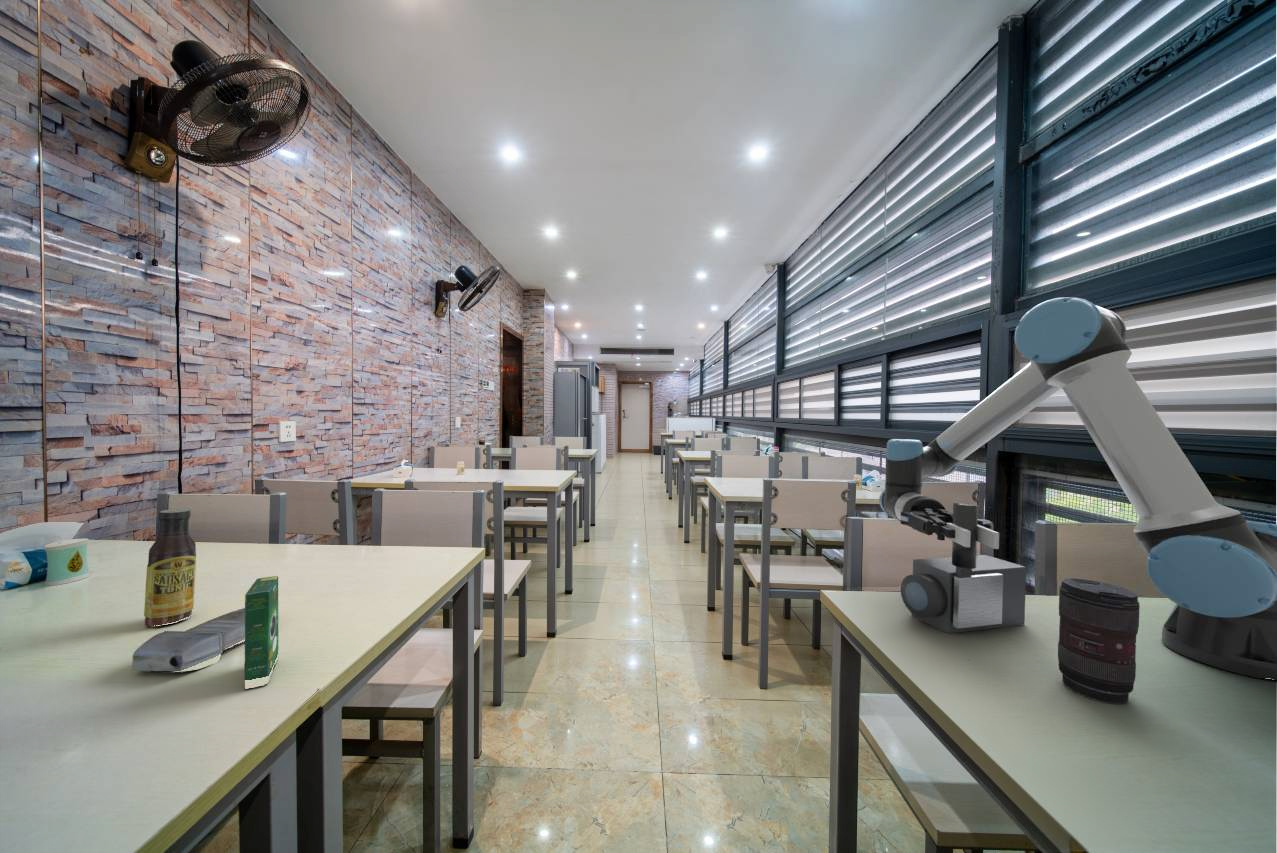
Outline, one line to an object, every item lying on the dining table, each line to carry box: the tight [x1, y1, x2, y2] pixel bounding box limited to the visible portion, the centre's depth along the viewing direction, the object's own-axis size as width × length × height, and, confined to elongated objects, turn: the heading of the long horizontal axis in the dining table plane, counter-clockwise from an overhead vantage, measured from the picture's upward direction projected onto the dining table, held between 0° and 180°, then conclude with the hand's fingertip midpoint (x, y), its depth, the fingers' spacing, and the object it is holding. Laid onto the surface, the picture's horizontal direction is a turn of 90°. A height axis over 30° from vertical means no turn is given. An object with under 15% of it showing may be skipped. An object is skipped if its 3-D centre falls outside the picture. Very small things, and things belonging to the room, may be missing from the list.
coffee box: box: [243, 575, 279, 680], centre depth 66 cm, size 8×3×13 cm, turn 30°
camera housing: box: [900, 554, 1027, 634], centre depth 88 cm, size 21×8×11 cm, turn 104°
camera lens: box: [1057, 577, 1141, 705], centre depth 66 cm, size 8×8×15 cm
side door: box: [951, 502, 1003, 629], centre depth 83 cm, size 10×4×22 cm, turn 104°
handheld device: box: [132, 607, 245, 672], centre depth 74 cm, size 10×20×5 cm, turn 178°
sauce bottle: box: [143, 508, 197, 627], centre depth 82 cm, size 6×6×20 cm
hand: (981, 539), depth 77 cm, fingers closed on side door, 4 cm apart
